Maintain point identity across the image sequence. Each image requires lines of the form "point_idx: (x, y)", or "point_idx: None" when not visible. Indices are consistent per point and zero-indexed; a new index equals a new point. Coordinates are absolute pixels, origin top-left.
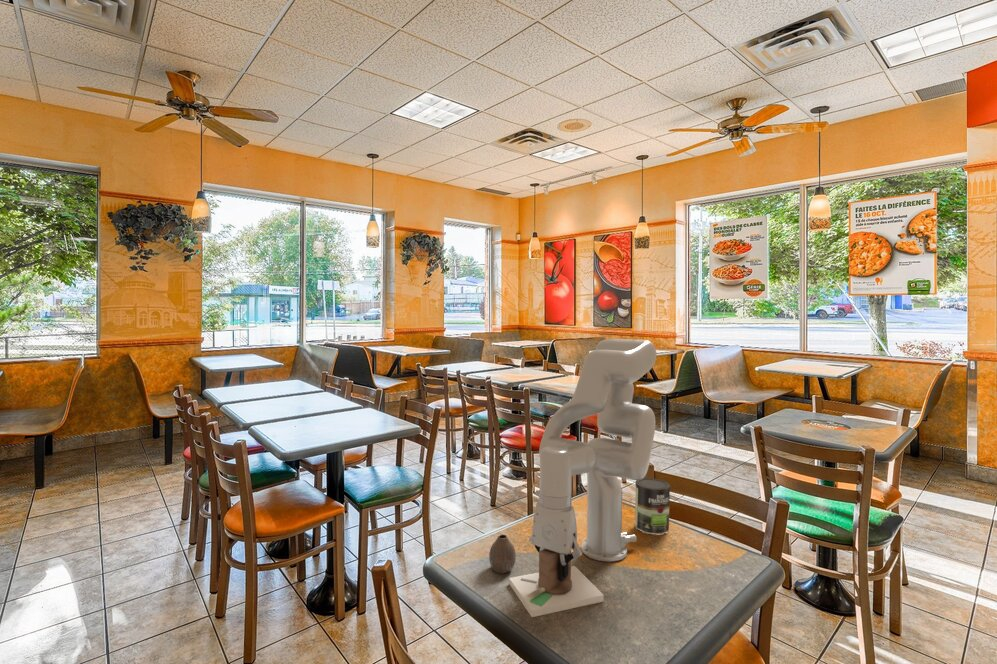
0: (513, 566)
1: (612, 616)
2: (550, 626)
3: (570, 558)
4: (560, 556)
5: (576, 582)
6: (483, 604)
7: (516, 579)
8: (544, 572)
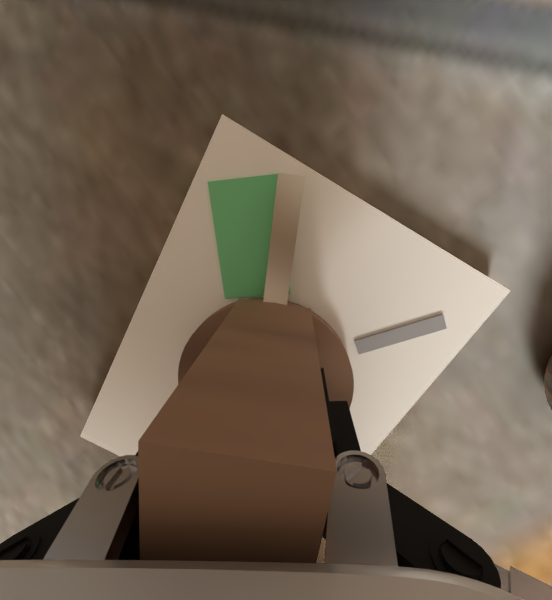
0: (547, 396)
1: (18, 361)
2: (125, 131)
3: (3, 545)
4: (108, 527)
5: None
6: (515, 18)
7: (465, 304)
8: (256, 337)
